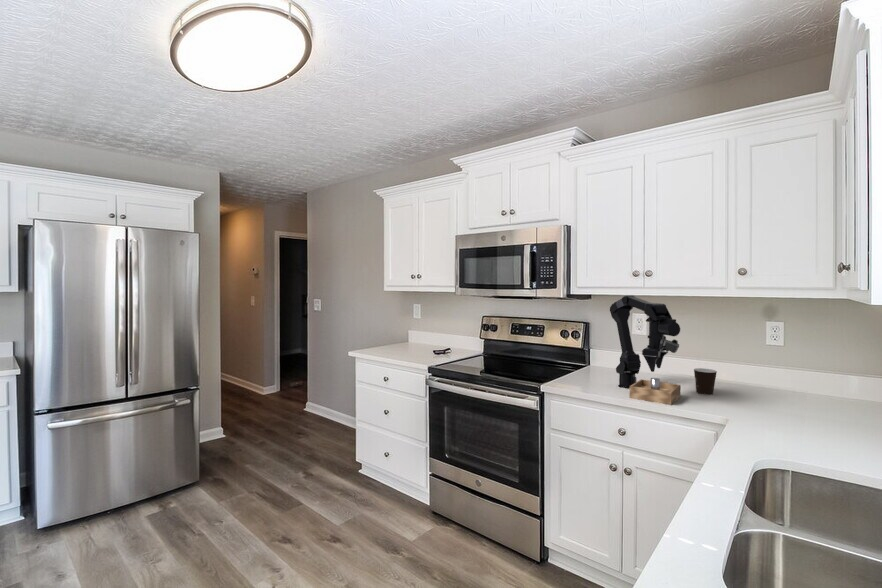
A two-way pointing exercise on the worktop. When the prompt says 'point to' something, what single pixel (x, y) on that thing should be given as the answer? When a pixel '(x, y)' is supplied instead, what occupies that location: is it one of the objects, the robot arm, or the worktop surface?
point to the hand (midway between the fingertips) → (655, 369)
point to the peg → (655, 383)
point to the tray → (655, 392)
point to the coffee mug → (705, 380)
